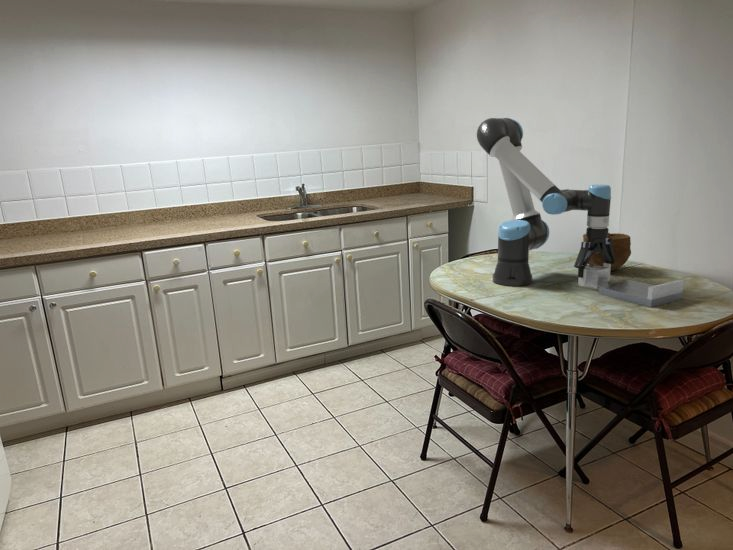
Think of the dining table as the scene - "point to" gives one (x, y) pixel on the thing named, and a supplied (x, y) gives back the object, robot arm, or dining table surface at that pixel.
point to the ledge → (644, 292)
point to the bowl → (619, 247)
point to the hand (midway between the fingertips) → (594, 283)
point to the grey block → (596, 275)
